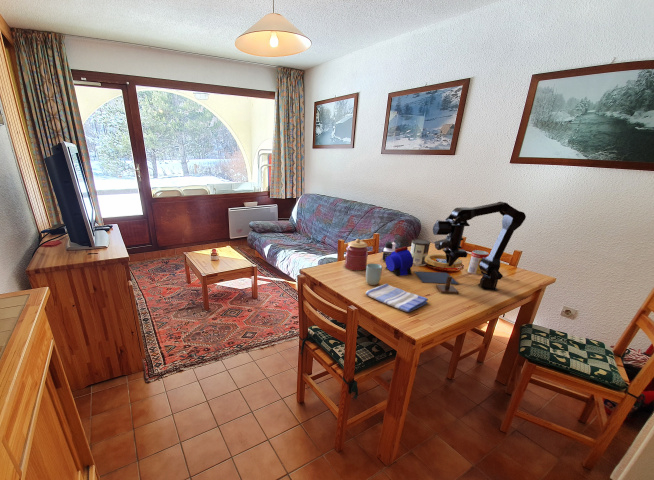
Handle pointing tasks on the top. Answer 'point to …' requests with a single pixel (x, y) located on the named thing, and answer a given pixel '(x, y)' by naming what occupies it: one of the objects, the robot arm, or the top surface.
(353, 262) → the kitchen canister
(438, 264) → the hoop
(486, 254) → the canned food
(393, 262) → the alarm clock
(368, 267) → the cup
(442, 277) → the felt mat
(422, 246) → the coffee can
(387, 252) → the medicine bottle
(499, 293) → the top surface
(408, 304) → the dish towel
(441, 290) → the peg stand
